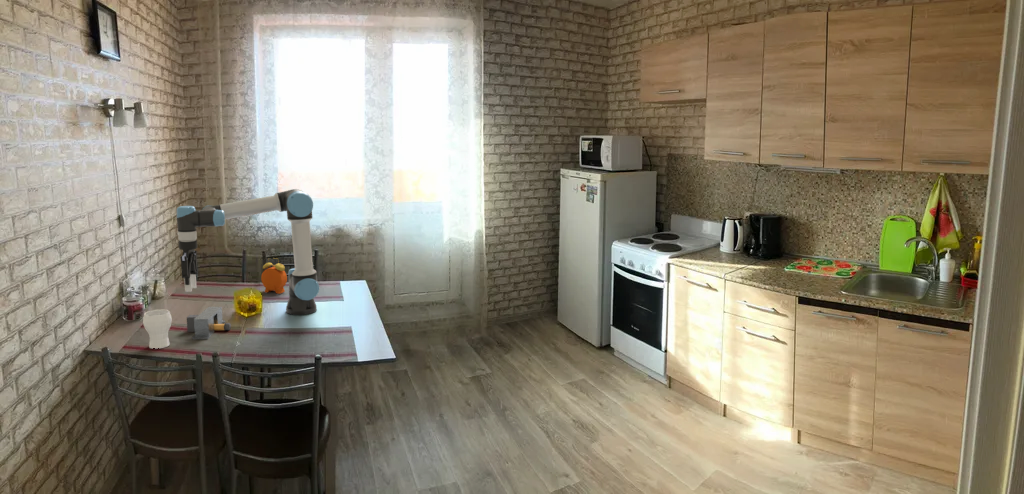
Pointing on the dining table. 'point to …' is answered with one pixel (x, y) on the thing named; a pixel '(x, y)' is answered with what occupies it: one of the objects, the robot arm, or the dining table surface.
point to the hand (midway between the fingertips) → (190, 289)
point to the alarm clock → (274, 278)
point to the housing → (207, 322)
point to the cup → (158, 327)
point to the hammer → (216, 326)
